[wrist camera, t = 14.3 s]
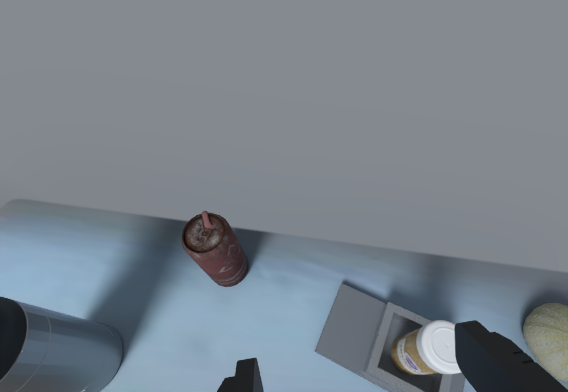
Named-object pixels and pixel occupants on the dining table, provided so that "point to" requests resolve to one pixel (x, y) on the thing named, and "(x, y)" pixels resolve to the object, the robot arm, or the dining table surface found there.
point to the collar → (389, 311)
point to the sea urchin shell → (549, 337)
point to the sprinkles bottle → (427, 350)
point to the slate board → (367, 339)
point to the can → (215, 248)
